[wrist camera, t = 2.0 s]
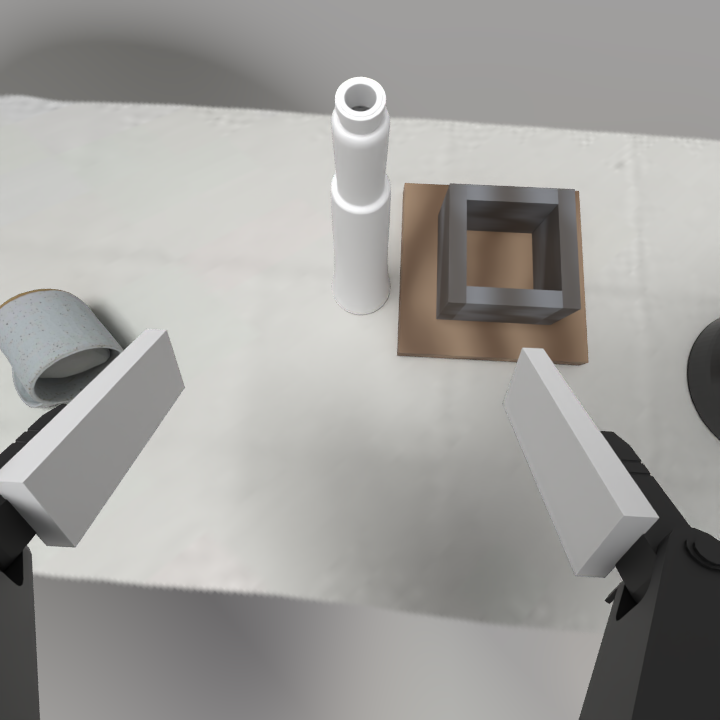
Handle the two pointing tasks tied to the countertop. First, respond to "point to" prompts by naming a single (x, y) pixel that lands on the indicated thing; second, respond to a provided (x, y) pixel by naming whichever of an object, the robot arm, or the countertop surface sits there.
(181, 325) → the countertop surface
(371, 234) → the cosmetic bottle
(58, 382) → the ceramic mug
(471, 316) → the bottle holder
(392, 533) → the countertop surface
